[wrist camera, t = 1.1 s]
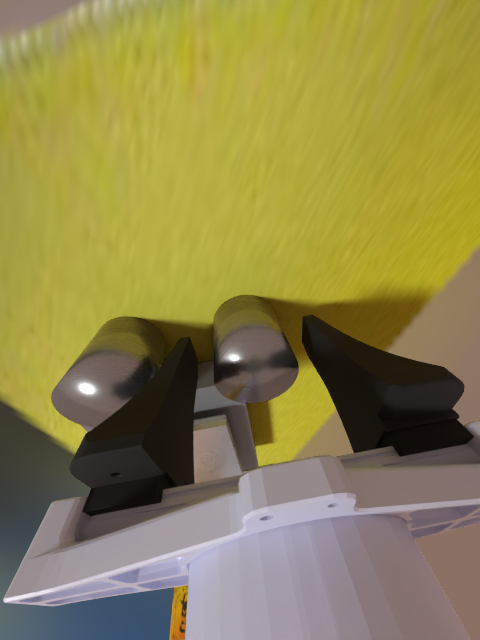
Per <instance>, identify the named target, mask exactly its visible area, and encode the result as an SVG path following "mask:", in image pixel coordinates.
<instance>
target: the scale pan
mask: <svg viewBox="0 0 480 640" xmlns="http://www.w3.org/2000/svg"><path fill="white" fill-rule="evenodd" d="M193 447H194V483H195V484H196V483H201V482H206V481H211V480H216V479H222V478H227V477H232V476H237V475H243V474H244V471H243V468H242V465H241V462H240V459H239V456H238V452H237V449H236V446H235V443H234V440H233V436H232V433H231V430H230V427H229V424H228V421H227V417H226V414H225V415H219V416H214V417H208V418H203V419H198V420H194V430H193Z"/></svg>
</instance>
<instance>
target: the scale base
mask: <svg viewBox="0 0 480 640" xmlns="http://www.w3.org/2000/svg"><path fill="white" fill-rule="evenodd" d="M225 414H226V417H227V421H228V424H229V427H230V430H231V433H232V436H233V440H234V443H235V446H236V449H237V452H238V456H239V459H240V462H241V465H242V468H243V470H245V469H251V468H256V467H258V460H257V454H256V448H255V442H254V437H253V432H252V427H251V423H250V418H249V413H248V408H247V403H240V402H236V401H232V400H230V399H228V398H226V397H224V396H223V395H222V394H221V393H220V392H219V391H218V390H217V388H216V386H215V384H214V360H212V361H207V362H202V363H198V381H197V389H196V397H195V406H194V420H198V419H203V418H208V417H214V416H219V415H225ZM81 426H82V427H83V428H84V429H85V430H86V431H87V432H89V431H91V430H92V429H93V428H92V427H87V426H83V425H81Z"/></svg>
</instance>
